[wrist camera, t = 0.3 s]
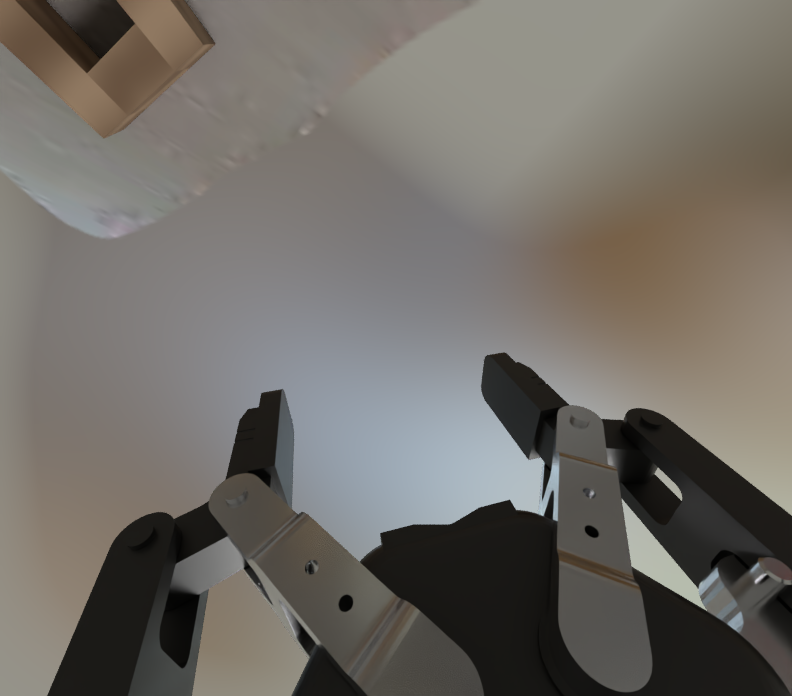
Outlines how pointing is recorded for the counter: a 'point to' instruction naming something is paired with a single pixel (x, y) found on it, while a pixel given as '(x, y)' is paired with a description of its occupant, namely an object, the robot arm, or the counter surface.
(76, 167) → the counter surface
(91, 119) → the socket block
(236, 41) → the counter surface
